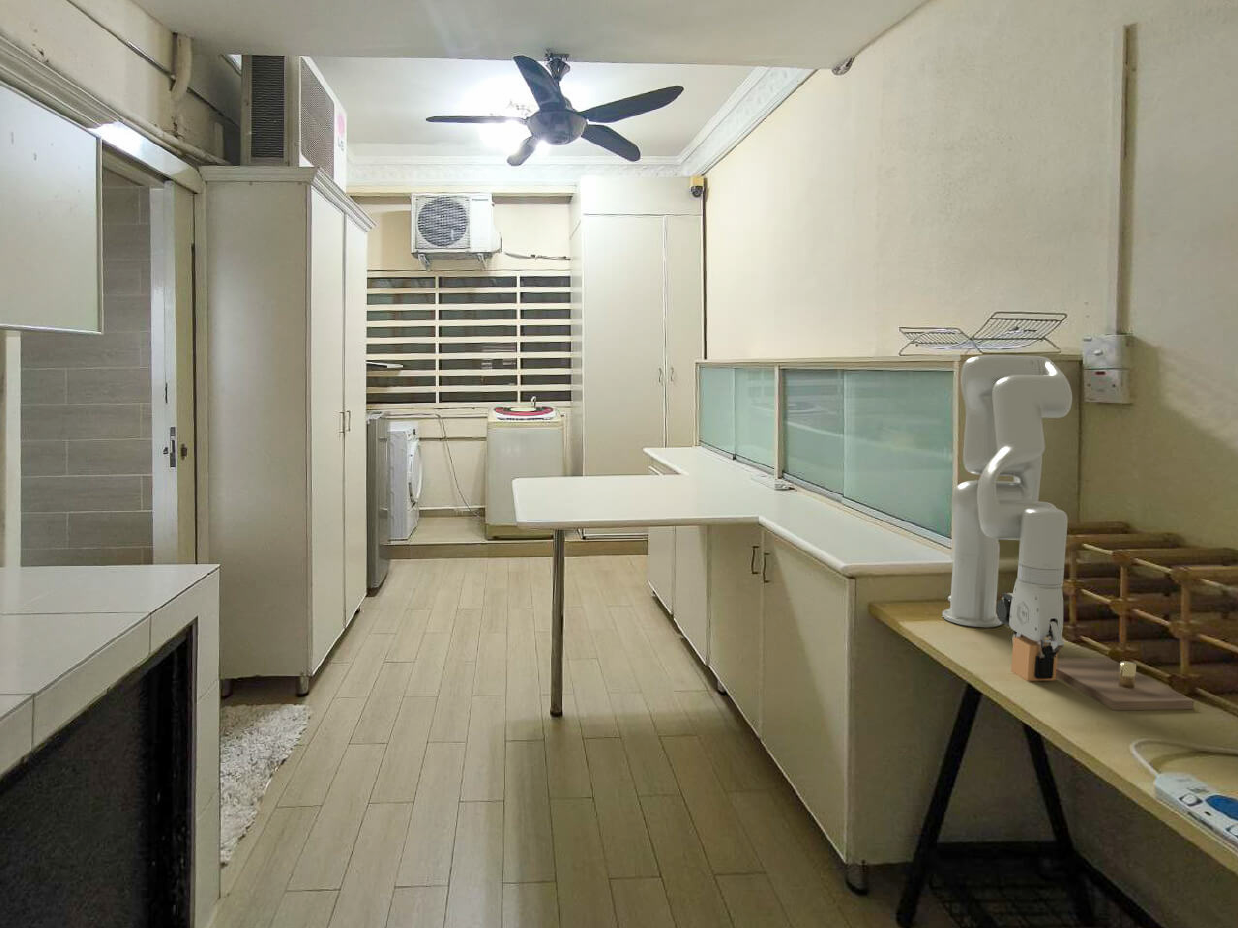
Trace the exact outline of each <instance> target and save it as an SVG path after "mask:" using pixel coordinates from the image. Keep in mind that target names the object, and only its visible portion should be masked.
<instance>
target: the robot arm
mask: <svg viewBox="0 0 1238 928" xmlns="http://www.w3.org/2000/svg"><path fill="white" fill-rule="evenodd" d="M960 388H961V392H962V393H961V394H962V398H963V400H964V401H963V402H964V406H965V412H966V413H965V427H964V438H963V441H964V442H963V452H962V453H963V454H962V461H963V467H964V469H965V470H966V471H967V472H968V473H970V474H973V475H980V477H979V479H978V480H966V481H964V482H961V483H959V484H958V485H956V487H955V488H954V489H953V492H952V497H951V500H952V512H953V524H954V534H953V535H954V537H953V555H952V556H953V557H952V572H951V573H952V574H951V585H950V587H951V588H950V590H951V591H950V592H951V593H950V595H949V596H948V597H947V601H949V602H950V603H949V604H950V606H949V608H946V609H944V610H943V611H942V615H943V616H942V618H943V617H944V618H943V619H944V620H946V621H948V622H950V623H954V624H956V625H960V626H961V625H962V626H966V627H967V626H968V627H974V628H994V627H999V626H1001V625H1002V624H1003V623H1002V622H1001V621H1000V620H999V619H998V617H997V613H996V606H997V598H998V597H997V596H998V595H997V594H998V585H999V584H998V582H999V581H998V580H999V568H1000V565H999V564H1000V549H1001V546H1000V542H999V540H1002V541H1003V540H1004V541H1005V540H1007V541H1008V540H1009V541H1019V549H1018V562H1017V574H1016V575H1017V577H1016V578H1015V582H1014V587H1013V590H1012V593H1013V595H1012V601H1011V608H1010V618H1009V625H1010V627H1011V628H1010V627H1009V628H1010V629H1012V630H1013V633H1014V634H1015V636H1016V637H1027V638H1029V639H1031V640H1033V641H1036V642H1037V648H1038V655H1039V656H1036V660H1035V674H1034V676H1035V678H1037V679H1051V678H1052V677H1053V667H1054V658H1056V654H1057V653H1058V654H1059V652H1060V650H1062V649H1063V648H1064V646H1065V642H1064V640H1063V637H1062V635H1063V627H1064V613H1063V612H1064V598H1063V586H1064V574H1065V560H1066V546H1067V536H1068V535H1067V534H1068V533H1067V531H1068V515H1067V513H1066V512H1065V511H1063V510H1062V509H1059V508H1058V507H1056V506H1055V505H1054V504H1053V503H1050V502H1048V501H1047V502H1046V501H1040V500H1039V497H1040V486H1041V474H1042V467H1043V466H1042V465H1043V453H1044V452H1045V449H1046V445H1045V438H1044V428H1043V420H1042V419H1043V418H1048V419H1049V418H1050V419H1052V418H1053V419H1054V418H1056V419H1058V418H1060V419H1061V418H1063V417H1065V416H1066V415H1067V414H1069V412H1070V411H1071V407H1072V403H1073V393H1072V389H1071V388H1072V387H1071V385H1070V383H1069V380H1068V379H1067V377H1066V376H1065V375H1064V373H1063V372H1062V371H1061V369H1059V367H1058V366H1057V365H1056V364H1055V363H1054V362H1053V361H1052V360H1051V359H1049V358H1048V357H1046V356H1042V355H1017V354H1016V355H1013V354H984V355H983V354H982V355H975V356H973V357H970V358H968V359H967V360H966V361H965V362H964V363H963V365H962V368H961V372H960ZM999 476H1000V477H1001V476H1002V477H1013V481H998V478H999ZM1014 634H1013V635H1014ZM1046 638H1048V639H1047V640H1044V639H1046ZM1043 643H1049V646H1047V647H1046V648H1045V649H1044V644H1043Z"/></svg>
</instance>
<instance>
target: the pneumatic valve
mask: <svg viewBox="0 0 1238 928" xmlns="http://www.w3.org/2000/svg"><path fill="white" fill-rule="evenodd" d="M1012 595H1013V592H1003V595H1002V598H1001V599H1000V600H998V601H997V602H996V613H995V614H997V617H998V619H999V620H1000V621H1001V622H1002V624H1003V625H1005V626H1007V627H1009V628H1010V629H1012V628H1011V627H1010V625H1009V618H1010V608H1011V601H1012ZM1063 614H1064V611H1063ZM1011 637H1012V638H1011V640H1012V643H1013V637H1016V636H1015V634H1013V635H1012V636H1011Z"/></svg>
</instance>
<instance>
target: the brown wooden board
mask: <svg viewBox="0 0 1238 928" xmlns="http://www.w3.org/2000/svg"><path fill="white" fill-rule="evenodd" d="M1056 678H1058V679H1060V680H1061V681H1062V682H1065V683H1067V684H1068V685H1070V686H1072V687H1073V688H1075V689H1077V690H1078V691H1080V692H1082V693H1084V694H1085V695H1087V696H1089V697H1090V698H1092V699H1093V700H1096V701H1097V702H1099V703H1101V704H1102V705H1105V706H1106V707H1108V708H1110V709H1111V710H1113V711H1143V710H1144V711H1148V710H1149V711H1150V710H1151V711H1152V710H1153V711H1156V710H1194V706H1195V705H1194V703H1195V700H1194V699H1192V698H1190V697H1188V696H1186V695H1184V694H1182V693H1180V692H1178V691H1176V690H1174V689H1172V688H1171V687H1168V686H1167V685H1164V684H1162V683H1160V682H1158V681H1156V680H1154V679H1152V678H1150V677H1148V676H1146V675H1144V674H1143V673H1140V672H1138V671H1137V664H1136V663H1134V662H1131V661H1125V660H1123V661H1120V662H1117V661H1116V660H1113V659H1112V658H1109V657H1061V658H1060V657H1057V669H1056Z"/></svg>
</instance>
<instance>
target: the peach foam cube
mask: <svg viewBox="0 0 1238 928" xmlns="http://www.w3.org/2000/svg"><path fill="white" fill-rule="evenodd" d="M1012 637H1013V636H1012ZM1044 640H1048V639H1046V638H1045V639H1044ZM1043 644H1044V649H1045V648H1046V647H1047V646H1049V643H1043ZM1011 652H1012V655H1011V669H1010V671H1011V672H1013V674H1016V675H1018V676H1019V677H1020V678H1022V679H1023V680H1026V681H1027V682H1030V681H1031V682H1033V681H1034V682H1037V681H1039V682H1041V681H1056V680H1057V677H1056V669H1057V658H1058V656H1059V655H1058V654H1059V652H1058V653H1057V654H1056V658H1054V667H1053V677H1052V678H1051V679H1037V678H1035V676H1034V674H1035V660H1036V656H1039V655H1038V648H1037V642H1036V641H1033V640H1031V639H1029V638H1027V637H1013V642H1012V651H1011Z"/></svg>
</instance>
